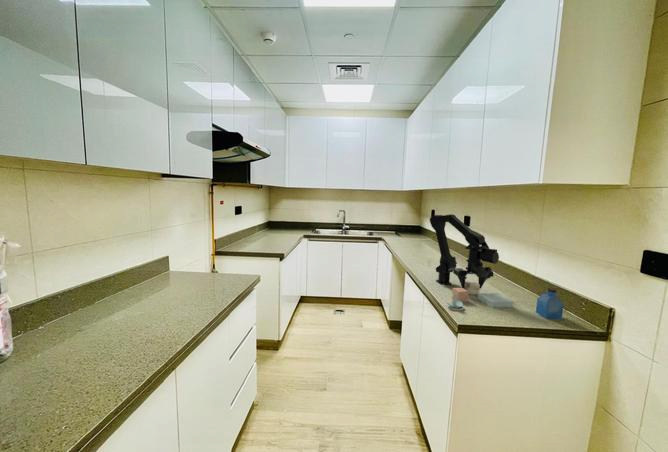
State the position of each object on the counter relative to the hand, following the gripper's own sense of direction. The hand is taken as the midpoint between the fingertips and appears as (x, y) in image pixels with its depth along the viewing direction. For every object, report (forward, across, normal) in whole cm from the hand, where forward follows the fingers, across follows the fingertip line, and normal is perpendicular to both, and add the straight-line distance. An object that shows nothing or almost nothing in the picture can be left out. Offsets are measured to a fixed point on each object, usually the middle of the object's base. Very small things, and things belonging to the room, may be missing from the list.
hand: (471, 288), depth 137 cm
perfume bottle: (+2, +17, -27) cm, 32 cm away
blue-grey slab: (+2, +3, -13) cm, 14 cm away
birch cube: (+2, 0, 0) cm, 2 cm away
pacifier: (+2, -20, -18) cm, 27 cm away
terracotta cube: (+2, -12, -9) cm, 15 cm away
